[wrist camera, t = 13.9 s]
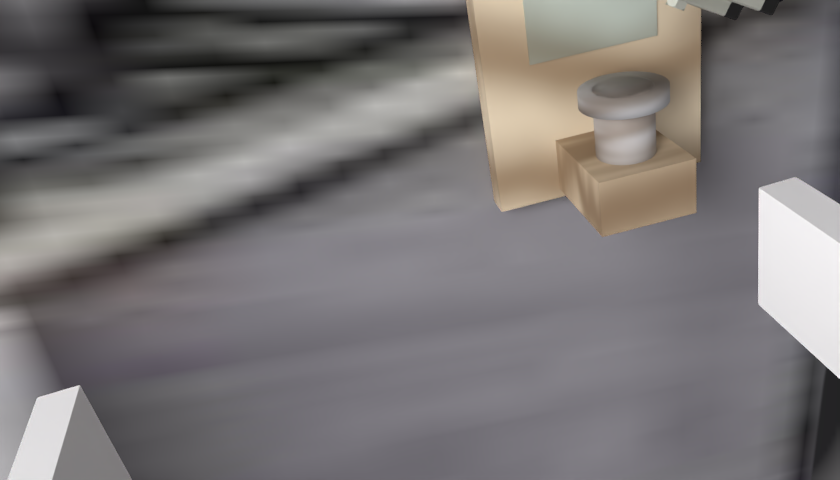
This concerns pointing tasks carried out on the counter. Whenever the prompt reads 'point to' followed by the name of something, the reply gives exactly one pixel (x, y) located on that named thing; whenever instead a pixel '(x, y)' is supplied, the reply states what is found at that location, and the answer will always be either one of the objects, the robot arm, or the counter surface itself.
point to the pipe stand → (591, 105)
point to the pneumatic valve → (727, 6)
